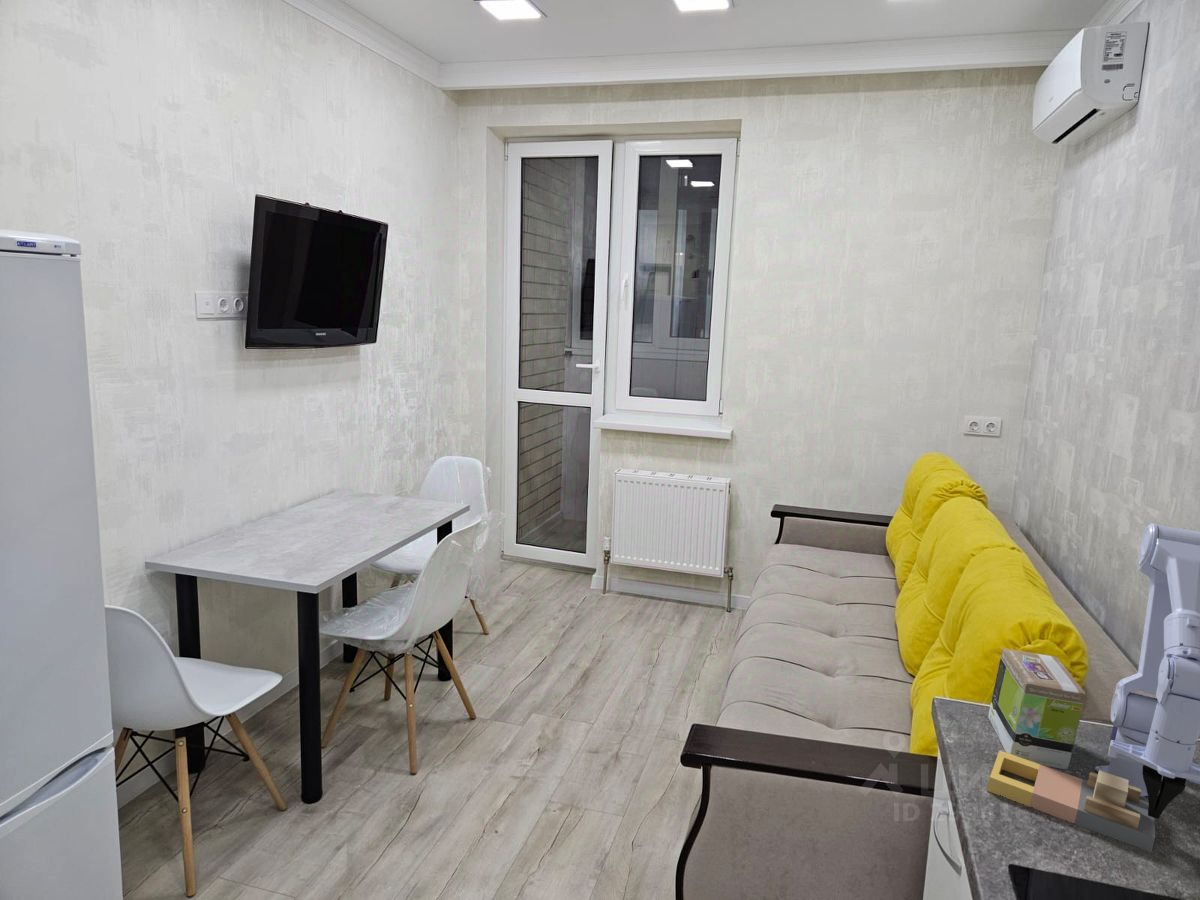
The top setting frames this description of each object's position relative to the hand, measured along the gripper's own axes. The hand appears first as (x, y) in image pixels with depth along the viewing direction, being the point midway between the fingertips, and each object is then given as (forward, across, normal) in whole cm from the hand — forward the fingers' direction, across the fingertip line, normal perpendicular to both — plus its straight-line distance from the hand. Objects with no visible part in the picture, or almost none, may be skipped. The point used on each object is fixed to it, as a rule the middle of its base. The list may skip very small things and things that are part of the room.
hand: (1153, 814), depth 124 cm
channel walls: (+1, -5, 0) cm, 5 cm away
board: (+3, -11, 0) cm, 11 cm away
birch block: (+1, -6, 0) cm, 6 cm away
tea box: (+4, -19, +16) cm, 25 cm away
